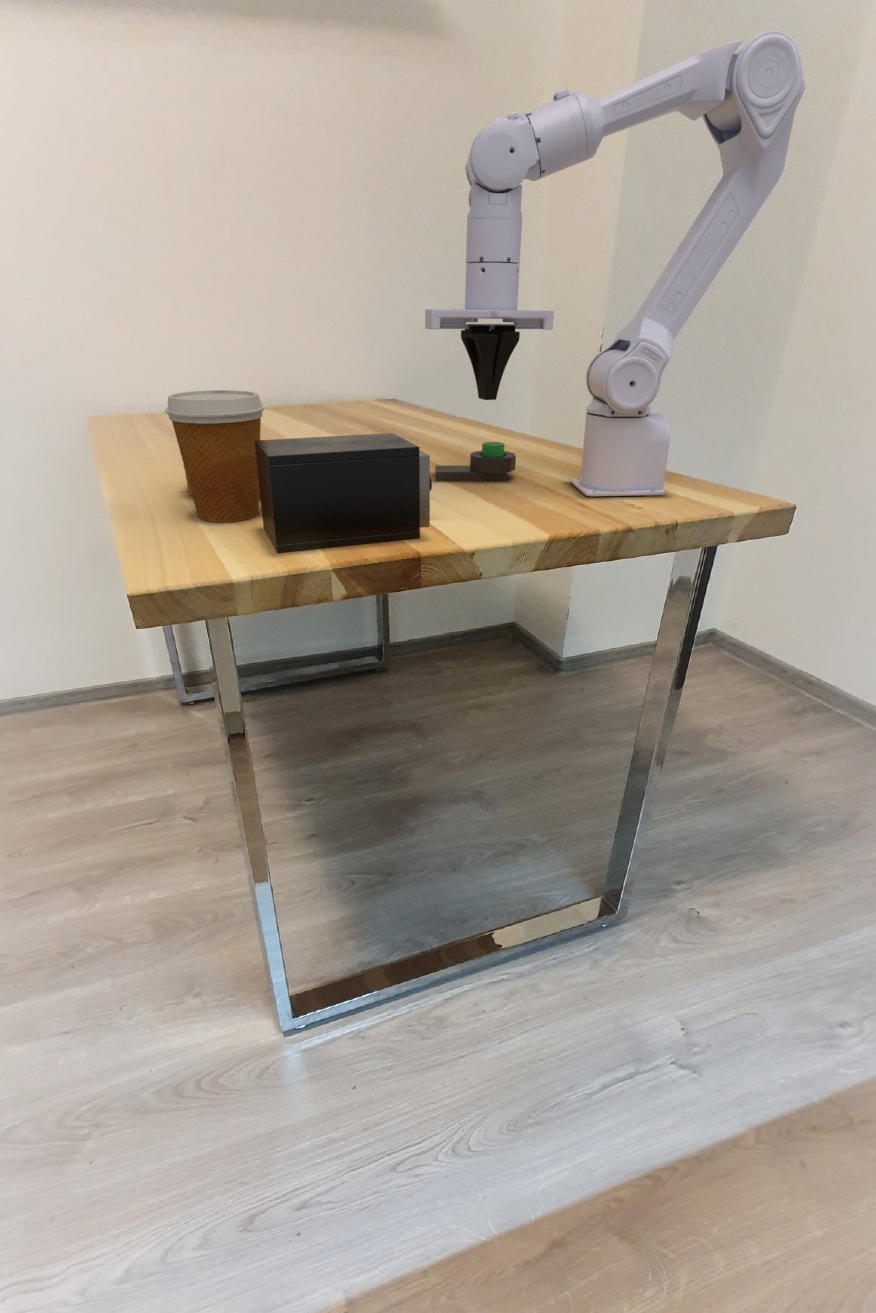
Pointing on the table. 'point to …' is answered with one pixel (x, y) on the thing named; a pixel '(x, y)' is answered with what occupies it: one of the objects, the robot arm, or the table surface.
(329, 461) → the cabinet
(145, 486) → the table surface
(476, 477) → the control block
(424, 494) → the drawer
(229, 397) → the disposable coffee cup
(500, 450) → the button
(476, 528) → the table surface
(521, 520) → the table surface
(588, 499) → the table surface
